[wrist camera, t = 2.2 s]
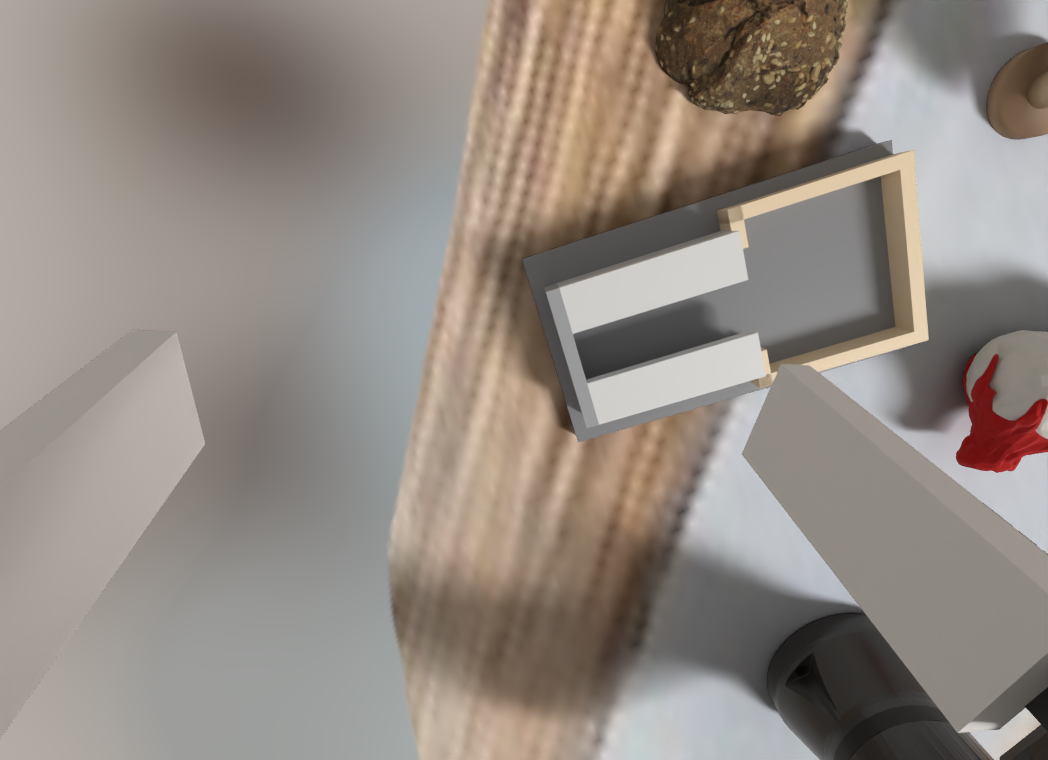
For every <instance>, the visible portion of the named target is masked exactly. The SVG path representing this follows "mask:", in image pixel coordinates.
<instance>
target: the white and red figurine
mask: <svg viewBox="0 0 1048 760" xmlns="http://www.w3.org/2000/svg"><path fill="white" fill-rule="evenodd" d="M963 388H964V393H965V396H966V399H967V403H968V406H969V407H968V409H969V417H970V419H971V422H972V427H971V431H970V432H971V433H970V435H969V436H967V437H966V438H965V439H964V440H963V442H962V445H961V447H960V449H959V450H958V451H957V453H956V460H957V462H958V463H959V464H960V465H962V466H965V467H970V468H974V469H978V470H983V471H991V470H992V471H994V472H996V473H998V472H1003V471H1006V470H1008V471H1013V470H1015V468H1016V467H1017V465H1018V464H1019V462H1020V460H1021V458H1022V457H1023V456H1025V455H1031V454H1036V453H1044V452H1048V331H1028V330H1019V331H1015V332H1012V333H1008V334H1005V335H1001V336H999V337H997V338H994V339H992V340H991V341H989V342H988V343H987V344H986V345H985V346H984V347H983V348H982V349H981V350H980V351H979V352H978V353H977V355H976V353H974V354H973V356H972V357H971V359H970V360H969V361H968V362H967V364H966V366H965V370H964V376H963Z"/></svg>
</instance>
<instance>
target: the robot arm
mask: <svg viewBox="0 0 1048 760" xmlns="http://www.w3.org/2000/svg"><path fill="white" fill-rule="evenodd" d="M204 445H205V441H204V437H203V433H202V430H201V426H200V421H199V418H198V414H197V410H196V406H195V402H194V398H193V394H192V390H191V387H190V382H189V379H188V375H187V371H186V367H185V363H184V359H183V355H182V351H181V347H180V343H179V340H178V336H177V332H172V331H171V332H170V331H153V330H131V331H130V332H129V333H127V334H126V335H125V336H124V337H122V338H121V339H120V340H118V341H117V342H116V343H114V344H113V345H112V346H110V347H109V348H108V349H106V350H105V351H104V352H103V353H101V354H100V355H99V356H97V357H96V358H95V359H93V360H92V361H91V362H89V363H88V364H87V365H86V366H84V367H83V368H82V369H80V370H79V371H78V372H76V373H75V374H74V375H72V376H71V377H70V378H68V379H67V380H66V381H64V383H62V384H61V385H59V386H58V387H57V388H55V389H54V390H53V391H51V392H50V393H49V394H47V395H46V396H45V397H44V398H42V399H41V400H40V401H38V402H37V403H36V404H34V405H33V406H32V407H30V408H29V409H28V410H27V411H25V412H24V413H23V414H21V415H20V416H19V417H17V418H16V419H15V420H13V421H12V422H11V423H10V424H8V425H7V426H5V427H4V428H3V429H2V430H0V739H1V737H2V736H3V735H4V733H5V731H6V730H7V729H8V727H9V726H10V724H11V723H12V722H13V720H14V719H15V717H16V716H17V714H18V713H19V711H20V710H21V709H22V707H23V706H24V704H25V703H26V701H27V700H28V699H29V697H30V696H31V694H32V693H33V691H34V690H35V688H36V687H37V685H38V684H39V683H40V681H41V680H42V678H43V677H44V675H45V674H46V673H47V671H48V670H49V668H50V667H51V665H52V664H53V662H54V661H55V659H56V658H57V656H58V655H59V654H60V652H61V651H62V649H63V648H64V647H65V645H66V644H67V642H68V641H69V639H70V638H71V637H72V635H73V633H74V632H75V631H76V629H77V628H78V626H79V625H80V624H81V622H82V621H83V619H84V618H85V616H86V615H87V613H88V612H89V611H90V609H91V608H92V606H93V605H94V603H95V602H96V600H97V599H98V598H99V596H100V594H101V593H102V592H103V590H104V589H105V587H106V586H107V584H108V583H109V582H110V580H111V579H112V577H113V576H114V574H115V573H116V572H117V570H118V569H119V567H120V566H121V564H122V563H123V562H124V560H125V559H126V557H127V556H128V554H129V553H130V551H131V550H132V548H133V547H134V546H135V544H136V543H137V541H138V540H139V538H140V537H141V535H142V534H143V532H144V531H145V530H146V528H147V527H148V525H149V524H150V523H151V521H152V520H153V518H154V517H155V515H156V514H157V513H158V511H159V510H160V508H161V507H162V505H163V504H164V502H165V501H166V500H167V498H168V497H169V495H170V494H171V492H172V491H173V489H174V488H175V487H176V485H177V484H178V482H179V481H180V479H181V478H182V476H183V475H184V474H185V472H186V471H187V469H188V468H189V466H190V464H191V463H192V462H193V461H194V459H195V458H196V456H197V455H198V453H199V452H200V451H201V449H202V448H203V446H204ZM742 455H743V456H744V458H745V459H746V460H747V462H748V463H749V464H750V465H751V467H752V468H753V469H754V471H755V472H756V473H757V475H758V476H759V477H760V478H761V480H762V481H763V482H764V484H765V485H766V486H767V487H768V489H769V490H770V491H771V493H772V494H773V495H774V496H775V498H776V499H777V500H778V502H779V503H780V504H781V505H782V507H783V508H784V509H785V511H786V512H787V513H788V515H789V516H790V517H791V518H792V520H793V521H794V522H795V524H796V525H797V526H798V527H799V529H800V530H801V531H802V533H803V534H804V535H805V536H806V538H807V539H808V540H809V542H810V543H811V544H812V546H813V547H814V548H815V549H816V551H817V552H818V553H819V555H820V556H821V557H822V558H823V560H824V561H825V562H826V564H827V565H828V566H829V567H830V569H831V570H832V571H833V573H834V574H835V575H836V576H837V578H838V579H839V580H840V582H841V583H842V584H843V586H844V587H845V588H846V589H847V591H848V592H849V593H850V595H851V596H852V597H853V598H854V600H855V601H856V602H857V604H858V605H859V606H860V607H861V609H862V610H863V611H864V613H865V614H857V613H852V614H840V615H835V616H830V617H827V618H824V619H821V620H818V621H816V622H813V623H811V624H809V625H807V626H805V627H804V628H802V629H800V630H799V631H797V632H796V633H795V634H793V635H792V636H791V637H790V638H789V639H788V640H786V642H785V643H784V644H783V645H782V646H781V647H780V648H779V650H778V651H777V652H776V654H775V656H774V658H773V660H772V662H771V664H770V667H769V671H768V676H767V686H768V691H769V695H770V697H771V699H772V701H773V703H774V705H775V707H776V709H777V711H778V712H779V714H780V716H781V718H782V719H783V721H784V722H785V724H786V725H787V726H788V727H789V729H790V730H791V731H792V732H793V733H794V734H795V735H796V736H797V737H798V738H799V739H800V740H801V741H802V742H803V743H804V744H805V745H806V746H807V747H808V748H809V749H810V750H811V751H812V752H813V753H814V754H815V755H816V756H817V757H818V758H819V759H820V760H994V759H993V758H992V757H991V756H990V755H989V754H988V752H987V751H986V750H985V749H984V748H983V747H982V746H981V745H980V744H979V743H978V741H977V740H976V739H975V738H974V737H973V736H972V735H971V734H970V733H969V732H975V731H986V730H997V729H1000V728H1001V727H1003V726H1004V725H1005V724H1006V723H1007V722H1009V721H1010V720H1011V719H1012V718H1013V717H1015V716H1016V715H1017V714H1018V713H1019V712H1021V711H1022V710H1023V709H1024V708H1025V707H1026V708H1027V709H1028V710H1029V711H1030V713H1031V714H1032V715H1033V716H1034V717H1035V718H1036V719H1037V720H1038V721H1039V722H1040V723H1041V725H1040V726H1039V727H1037V728H1036V729H1035V730H1034V731H1032V732H1031V733H1030V734H1029V735H1027V736H1026V737H1025V738H1023V739H1022V740H1021V741H1020V742H1018V743H1017V744H1016V745H1015V746H1013V747H1012V748H1011V749H1010V750H1008V751H1007V752H1006V753H1004V754H1003V755H1002V756H1001V757H1000V760H1048V554H1047V553H1046V552H1045V551H1043V550H1041V549H1040V548H1039V547H1038V546H1037V545H1036V544H1035V543H1033V542H1032V541H1031V540H1029V539H1028V538H1027V537H1026V536H1024V535H1023V534H1022V533H1021V532H1019V531H1018V530H1016V529H1015V528H1014V527H1013V526H1012V525H1011V524H1009V523H1008V522H1007V521H1006V520H1004V519H1003V518H1002V517H1000V516H999V515H998V514H997V513H995V512H994V511H993V510H992V509H990V508H989V507H988V506H987V505H985V504H984V503H982V502H981V501H980V500H978V499H977V498H976V497H975V496H973V495H972V494H971V493H970V492H968V491H967V490H966V489H965V488H963V487H962V486H961V485H960V484H958V483H957V482H956V481H955V480H953V479H952V478H951V477H949V476H948V475H947V474H946V473H944V472H943V471H942V470H941V469H939V468H938V467H937V466H936V465H934V464H933V463H932V462H931V461H929V460H928V459H927V458H926V457H924V456H923V455H922V454H921V453H919V452H918V451H917V450H915V449H914V448H913V447H912V446H910V445H909V444H908V443H907V442H905V441H904V440H903V439H902V438H900V437H899V436H898V435H897V434H895V433H894V432H893V431H892V430H890V429H889V428H888V427H887V426H885V425H884V424H883V423H881V422H880V421H879V420H878V419H876V418H875V417H874V416H873V415H871V414H870V413H869V412H868V411H866V410H865V409H864V408H863V407H861V406H860V405H859V404H858V403H856V402H855V401H854V400H853V399H851V398H850V397H849V396H847V395H846V394H845V393H844V392H842V391H841V390H840V389H839V388H837V387H836V386H835V385H834V384H832V383H831V382H830V381H829V380H827V379H826V378H825V377H824V376H822V375H821V374H820V373H819V372H817V371H816V370H815V369H813V368H812V367H811V366H810V365H792V364H781V365H780V368H779V370H778V372H777V374H776V377H775V379H774V381H773V384H772V386H771V388H770V390H769V393H768V395H767V397H766V400H765V402H764V404H763V407H762V409H761V411H760V413H759V416H758V418H757V420H756V423H755V425H754V427H753V429H752V432H751V434H750V436H749V439H748V441H747V443H746V446H745V448H744V450H743V452H742Z"/></svg>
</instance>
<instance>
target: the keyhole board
mask: <svg viewBox="0 0 1048 760" xmlns="http://www.w3.org/2000/svg"><path fill="white" fill-rule="evenodd" d="M522 261H523V264H524V268H525V271H526V274H527V277H528V281H529V284H530V287H531V290H532V294H533V297H534V300H535V303H536V307H537V310H538V313H539V316H540V320H541V323H542V326H543V329H544V333H545V336H546V339H547V342H548V346H549V349H550V352H551V355H552V359H553V362H554V365H555V368H556V372H557V375H558V378H559V382H560V385H561V388H562V391H563V395H564V398H565V401H566V404H567V408H568V411H569V414H570V417H571V421H572V424H573V427H574V430H575V434H576V437H577V440H578V442H581V441H584V440H588V439H591V438H595V437H598V436H602V435H605V434H609V433H612V432H616V431H619V430H623V429H626V428H629V427H633V426H636V425H640V424H643V423H647V422H650V421H654V420H657V419H661V418H664V417H668V416H671V415H674V414H678V413H681V412H685V411H688V410H692V409H695V408H699V407H702V406H706V405H709V404H713V403H716V402H719V401H723V400H726V399H730V398H733V397H737V396H740V395H744V394H747V393H751V392H754V391H758V390H761V389H764V388H768V387H771V386H772V384H773V381H774V379H775V377H776V374H777V372H778V370H779V368H780V365H781V364H792V365H810V366H811V367H812V368H813V369H815V370H816V371H817V372H819V373H820V372H823V371H827V370H830V369H834V368H837V367H841V366H844V365H848V364H851V363H854V362H858V361H861V360H865V359H868V358H872V357H875V356H879V355H882V354H886V353H889V352H893V351H896V350H899V349H903V348H906V347H910V345H913V344H917V343H920V342H924V341H927V340H929V337H928V325H927V312H926V299H925V286H924V274H923V261H922V248H921V236H920V223H919V210H918V197H917V185H916V172H915V159H914V150H912V151H907V152H902V153H897V154H893V151H892V140H890V141H886V142H882V143H878V144H875V145H872V146H868V147H865V148H862V149H859V150H856V151H853V152H850V153H847V154H844V155H841V156H838V157H834V158H831V159H828V160H825V161H822V162H819V163H816V164H813V165H810V166H807V167H804V168H801V169H797V170H794V171H791V172H788V173H785V174H782V175H779V176H776V177H773V178H770V179H767V180H763V181H760V182H757V183H754V184H751V185H748V186H745V187H742V188H739V189H736V190H733V191H729V192H726V193H723V194H720V195H717V196H714V197H711V198H708V199H705V200H702V201H699V202H696V203H692V204H689V205H686V206H683V207H680V208H677V209H674V210H671V211H668V212H665V213H662V214H658V215H655V216H652V217H649V218H646V219H643V220H640V221H637V222H634V223H631V224H628V225H625V226H621V227H618V228H615V229H612V230H609V231H606V232H603V233H600V234H597V235H594V236H591V237H587V238H584V239H581V240H578V241H575V242H572V243H569V244H566V245H563V246H560V247H557V248H553V249H550V250H547V251H544V252H541V253H538V254H535V255H532V256H529V257H526V258H523V259H522Z"/></svg>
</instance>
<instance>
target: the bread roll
mask: <svg viewBox="0 0 1048 760" xmlns="http://www.w3.org/2000/svg"><path fill="white" fill-rule="evenodd" d="M847 4H848V0H667V2H666V6H665V9H664V19H663V21H662V23H661V25H660V27H659V29H658V33H657V40H656V47H655V51H656V55H657V57H658V61H659V63H660V65H661V66H662V68H663V70H664V71H665V72H666V73H667V74H668V75H669V76H670V77H671V78H672V79H673V80H675V81H676V82H678V83H681V84H687V85H688V86H689V92H688V93H689V95H690V96H691V100H692V101H693V102H694V103H695V104H696V105H698V106H699V107H702V108H704V109H705V110H716V111H720V112H722V113H724V114H729V113H733V114H737V113H738V112H739V111H748V110H756V111H763V112H766V113H769V114H772V115H777V116H781V114H782V113H783V112H784V111H787V110H789V109H799V108H801V107H803V106H804V105H805V103H806V101H807V100H809V99H812V98H813V97H814V95H815V94H816V93H817V92H818V91H819V89H820V88H821V87H822V86H823V85H824V84H825V83H826V82H827V81H828V78H827V76H828V74H829V72H830V71H831V69H832V68H833V66H834V65H835V64H836V63H837V61H838V60H839V53H838V52H839V49H840V48H841V46H842V44H841V43H840V41H841V40H842V39H841V38H842V37H843V32H844V28H845V26H846V22H845V16H846V14H847V11H848V6H847Z"/></svg>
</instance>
